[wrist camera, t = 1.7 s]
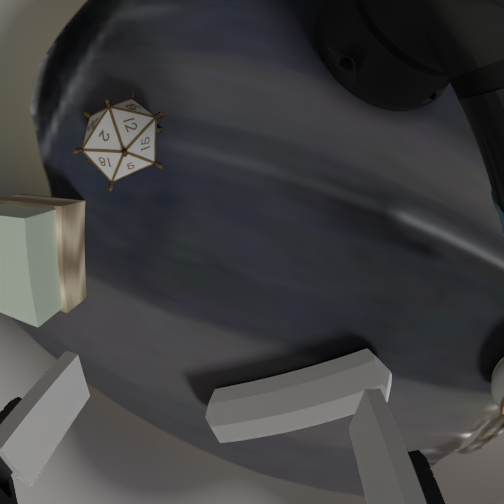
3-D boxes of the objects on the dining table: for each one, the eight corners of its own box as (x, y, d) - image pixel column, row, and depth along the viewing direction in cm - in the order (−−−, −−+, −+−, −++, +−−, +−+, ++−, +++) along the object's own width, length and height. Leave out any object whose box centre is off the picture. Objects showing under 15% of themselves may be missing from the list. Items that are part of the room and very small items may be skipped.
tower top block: (-4, 204, 25) (-33, 211, 20) (56, 209, 25) (24, 218, 20) (4, 288, 28) (-20, 303, 23) (63, 307, 28) (38, 327, 23)
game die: (139, 157, 32) (62, 183, 25) (140, 86, 27) (54, 101, 20) (190, 179, 28) (100, 215, 21) (196, 93, 23) (91, 108, 16)
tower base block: (20, 194, 30) (-5, 199, 25) (86, 200, 30) (61, 206, 25) (24, 278, 33) (3, 290, 28) (88, 296, 33) (67, 313, 28)
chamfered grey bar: (391, 344, 29) (188, 397, 32) (404, 401, 27) (205, 450, 30) (377, 340, 36) (208, 386, 39) (388, 388, 34) (222, 431, 37)
